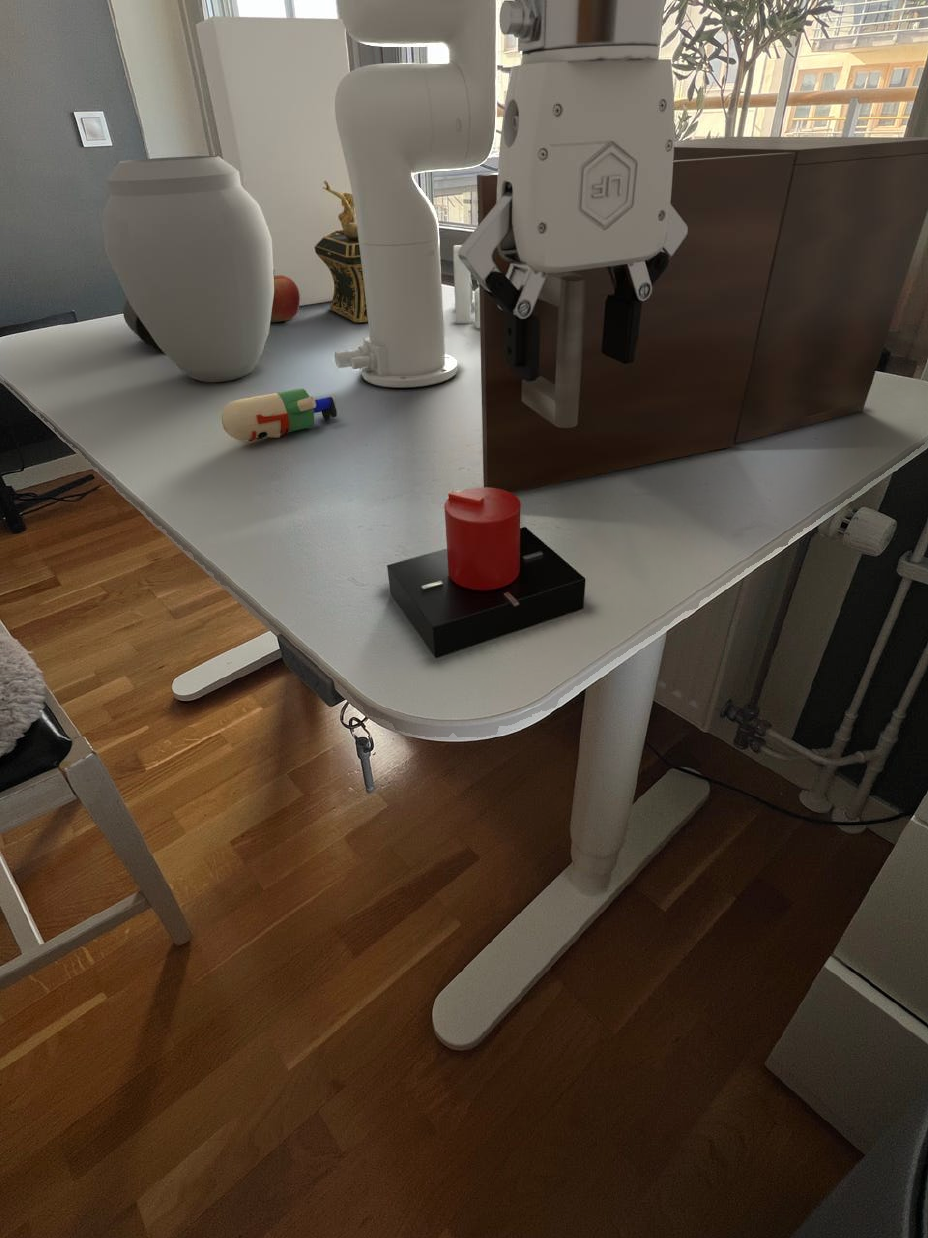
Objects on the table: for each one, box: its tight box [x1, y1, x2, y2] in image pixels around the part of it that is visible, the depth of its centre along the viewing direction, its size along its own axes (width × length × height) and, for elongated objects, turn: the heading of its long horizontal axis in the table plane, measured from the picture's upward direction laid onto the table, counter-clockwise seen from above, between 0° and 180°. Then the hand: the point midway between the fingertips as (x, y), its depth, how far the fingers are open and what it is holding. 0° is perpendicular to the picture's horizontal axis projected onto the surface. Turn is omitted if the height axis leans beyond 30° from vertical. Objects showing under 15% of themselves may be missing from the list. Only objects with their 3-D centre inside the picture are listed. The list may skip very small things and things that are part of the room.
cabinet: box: [673, 136, 928, 445], centre depth 72 cm, size 18×26×24 cm
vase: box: [101, 155, 274, 383], centre depth 85 cm, size 20×20×24 cm
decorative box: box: [315, 181, 368, 324], centre depth 110 cm, size 20×10×20 cm, turn 29°
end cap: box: [122, 299, 164, 353], centre depth 103 cm, size 10×7×7 cm
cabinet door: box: [476, 153, 795, 494], centre depth 53 cm, size 8×26×24 cm, turn 111°
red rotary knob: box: [443, 486, 522, 591], centre depth 44 cm, size 5×5×5 cm
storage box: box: [195, 16, 356, 307], centre depth 118 cm, size 21×10×40 cm, turn 121°
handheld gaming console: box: [452, 244, 474, 324], centre depth 113 cm, size 11×3×15 cm
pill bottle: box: [473, 280, 480, 330], centre depth 105 cm, size 4×4×8 cm
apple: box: [270, 269, 300, 323], centre depth 113 cm, size 8×8×8 cm
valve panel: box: [386, 526, 587, 659], centre depth 46 cm, size 11×9×3 cm
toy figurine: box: [220, 388, 338, 442], centre depth 72 cm, size 8×4×12 cm
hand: (571, 365), depth 47 cm, fingers open, 7 cm apart
